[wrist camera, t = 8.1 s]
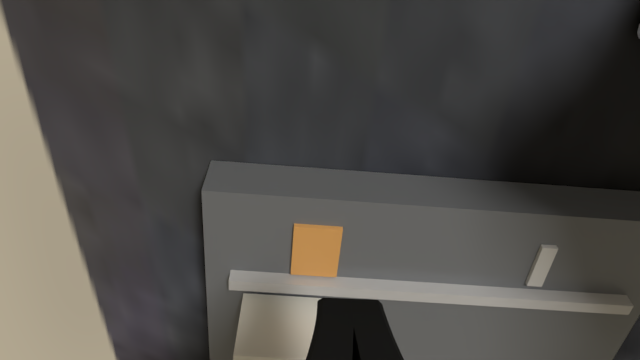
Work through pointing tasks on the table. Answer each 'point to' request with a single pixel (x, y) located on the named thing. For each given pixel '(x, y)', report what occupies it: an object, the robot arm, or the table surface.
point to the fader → (275, 327)
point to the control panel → (429, 258)
